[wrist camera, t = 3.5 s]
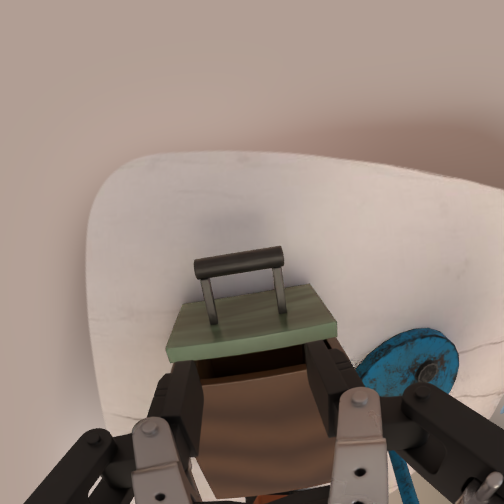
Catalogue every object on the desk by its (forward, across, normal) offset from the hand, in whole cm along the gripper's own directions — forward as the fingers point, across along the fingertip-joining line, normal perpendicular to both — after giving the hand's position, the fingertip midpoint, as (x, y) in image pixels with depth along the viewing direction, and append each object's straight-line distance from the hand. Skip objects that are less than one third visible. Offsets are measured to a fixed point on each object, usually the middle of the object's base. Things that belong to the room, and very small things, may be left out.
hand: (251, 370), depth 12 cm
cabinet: (+15, 0, +13) cm, 20 cm away
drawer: (+14, 0, +7) cm, 16 cm away
